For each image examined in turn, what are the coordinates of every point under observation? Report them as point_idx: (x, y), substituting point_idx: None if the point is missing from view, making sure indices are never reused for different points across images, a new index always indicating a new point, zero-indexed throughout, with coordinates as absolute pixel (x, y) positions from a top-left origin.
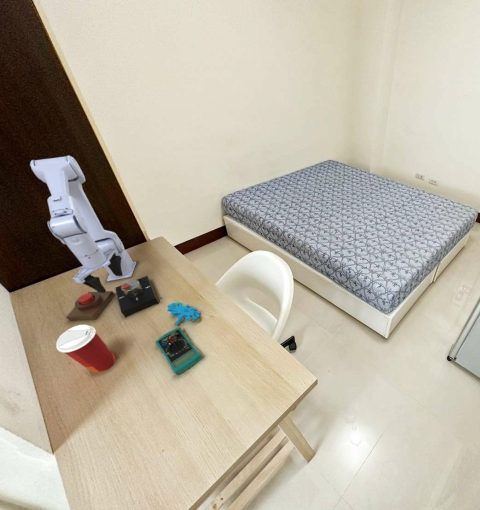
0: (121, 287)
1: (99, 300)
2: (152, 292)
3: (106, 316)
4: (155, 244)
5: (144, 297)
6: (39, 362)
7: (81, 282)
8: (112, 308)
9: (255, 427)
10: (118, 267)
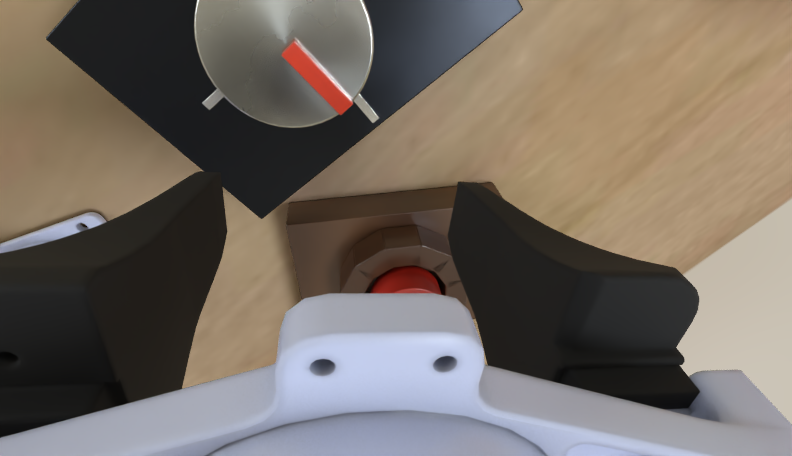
0: (338, 108)
1: (394, 236)
2: None
3: (471, 141)
4: None
5: None
6: (699, 249)
7: (750, 392)
8: (405, 147)
9: None
10: (164, 223)
